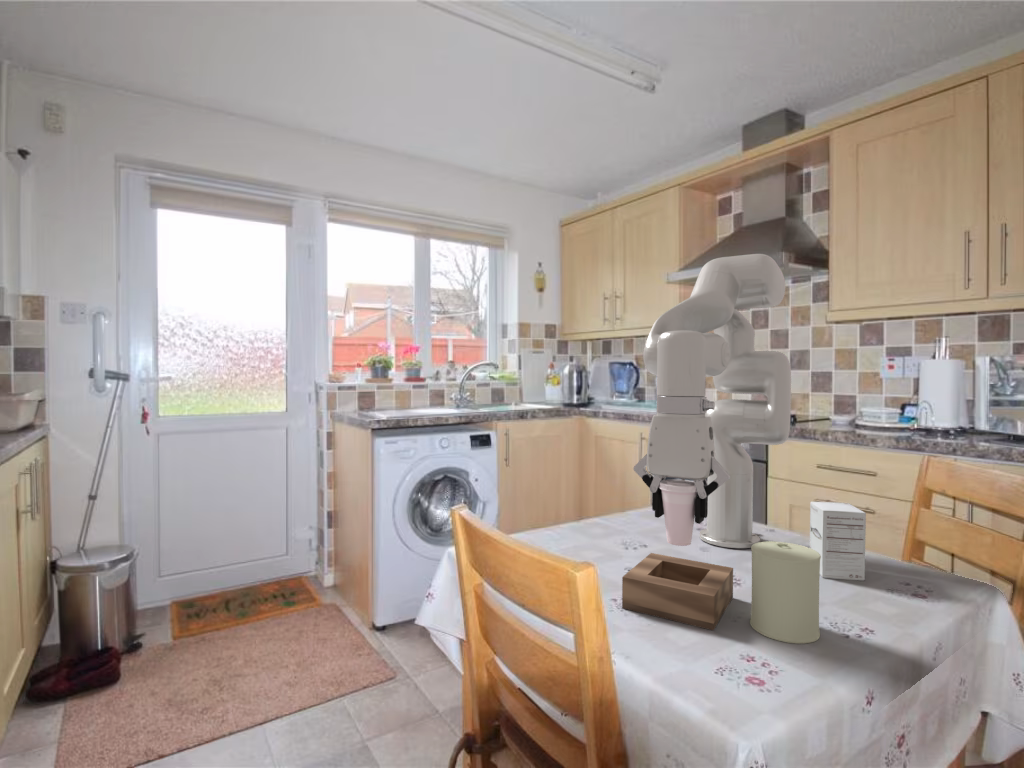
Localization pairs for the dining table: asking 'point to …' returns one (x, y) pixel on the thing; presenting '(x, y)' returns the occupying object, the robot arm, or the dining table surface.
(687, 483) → the smoothie
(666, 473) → the robot arm
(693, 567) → the socket block
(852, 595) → the dining table surface
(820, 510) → the supplement box
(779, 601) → the can
